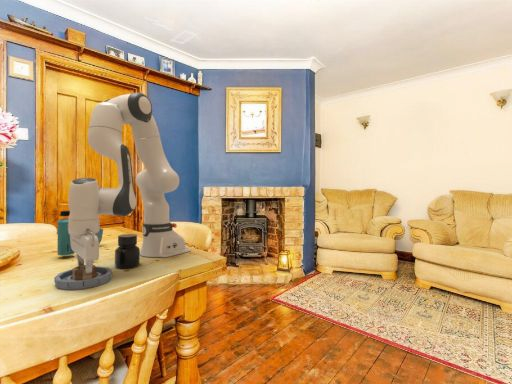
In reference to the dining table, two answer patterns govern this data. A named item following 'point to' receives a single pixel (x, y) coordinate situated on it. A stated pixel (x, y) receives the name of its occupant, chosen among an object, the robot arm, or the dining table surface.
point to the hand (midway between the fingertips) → (84, 268)
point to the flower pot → (99, 234)
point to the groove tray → (67, 282)
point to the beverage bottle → (64, 236)
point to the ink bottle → (127, 252)
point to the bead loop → (83, 273)
